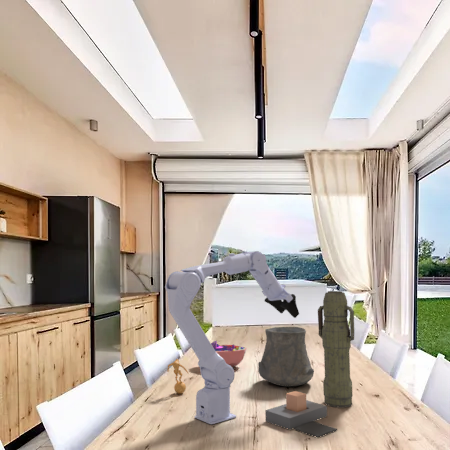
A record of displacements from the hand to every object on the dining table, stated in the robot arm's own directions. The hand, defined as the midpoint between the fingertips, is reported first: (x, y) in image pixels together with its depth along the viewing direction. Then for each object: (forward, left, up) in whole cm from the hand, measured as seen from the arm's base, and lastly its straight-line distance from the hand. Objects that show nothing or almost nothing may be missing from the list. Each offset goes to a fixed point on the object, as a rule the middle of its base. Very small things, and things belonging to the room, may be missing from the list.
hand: (289, 313), depth 147 cm
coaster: (-15, -21, -28) cm, 38 cm away
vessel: (+15, +15, -28) cm, 35 cm away
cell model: (+15, +52, -28) cm, 61 cm away
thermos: (+9, -11, -28) cm, 32 cm away
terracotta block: (-12, -12, -28) cm, 33 cm away
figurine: (-23, +31, -28) cm, 47 cm away
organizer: (-12, -12, -28) cm, 33 cm away
